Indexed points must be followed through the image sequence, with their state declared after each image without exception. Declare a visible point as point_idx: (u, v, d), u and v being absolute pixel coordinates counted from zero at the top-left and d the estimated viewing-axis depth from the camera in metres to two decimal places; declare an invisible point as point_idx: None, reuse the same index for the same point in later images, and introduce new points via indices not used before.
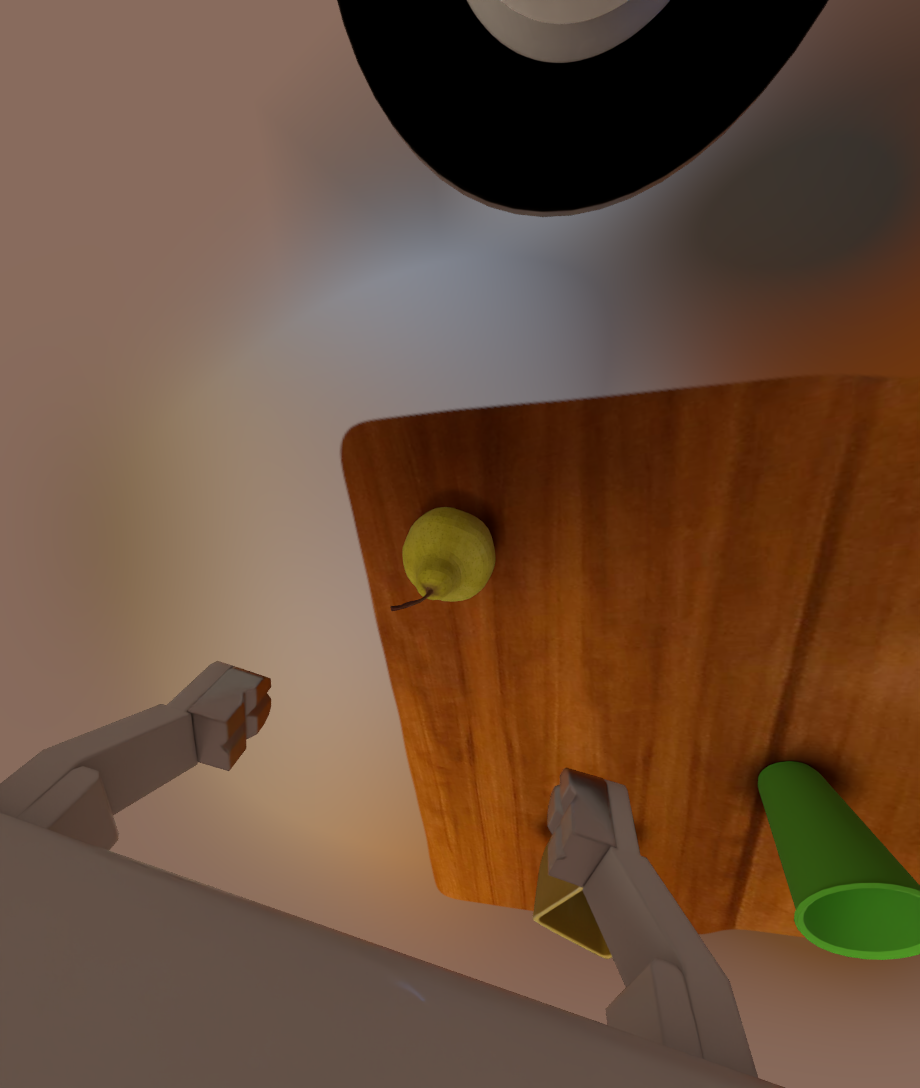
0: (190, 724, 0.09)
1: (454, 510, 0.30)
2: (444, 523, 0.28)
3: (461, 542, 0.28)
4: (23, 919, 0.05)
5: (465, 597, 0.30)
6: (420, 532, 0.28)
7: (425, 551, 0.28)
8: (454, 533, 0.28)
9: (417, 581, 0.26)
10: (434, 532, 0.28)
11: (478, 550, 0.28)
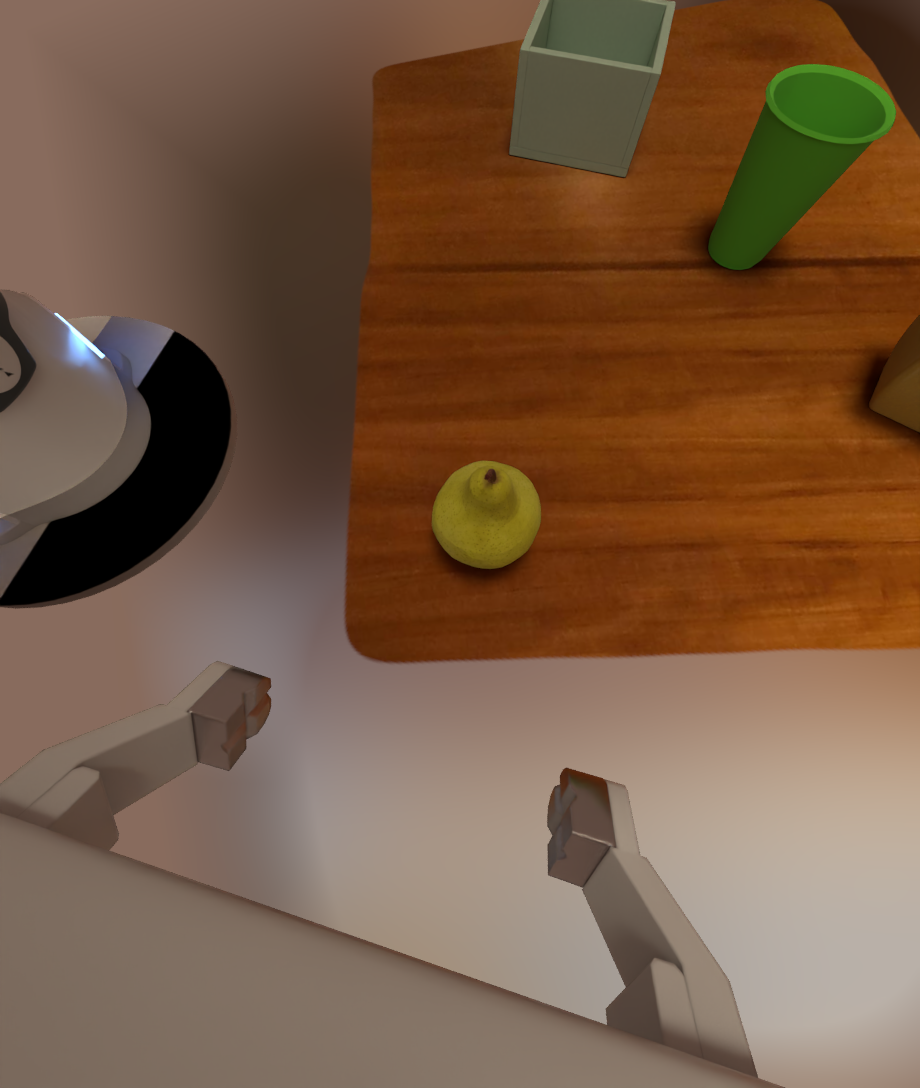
0: (190, 724, 0.09)
1: None
2: (437, 502, 0.25)
3: (455, 479, 0.25)
4: (23, 919, 0.05)
5: (527, 481, 0.25)
6: (445, 525, 0.25)
7: (460, 508, 0.24)
8: (446, 488, 0.25)
9: (485, 498, 0.22)
10: (444, 507, 0.25)
11: (467, 466, 0.26)
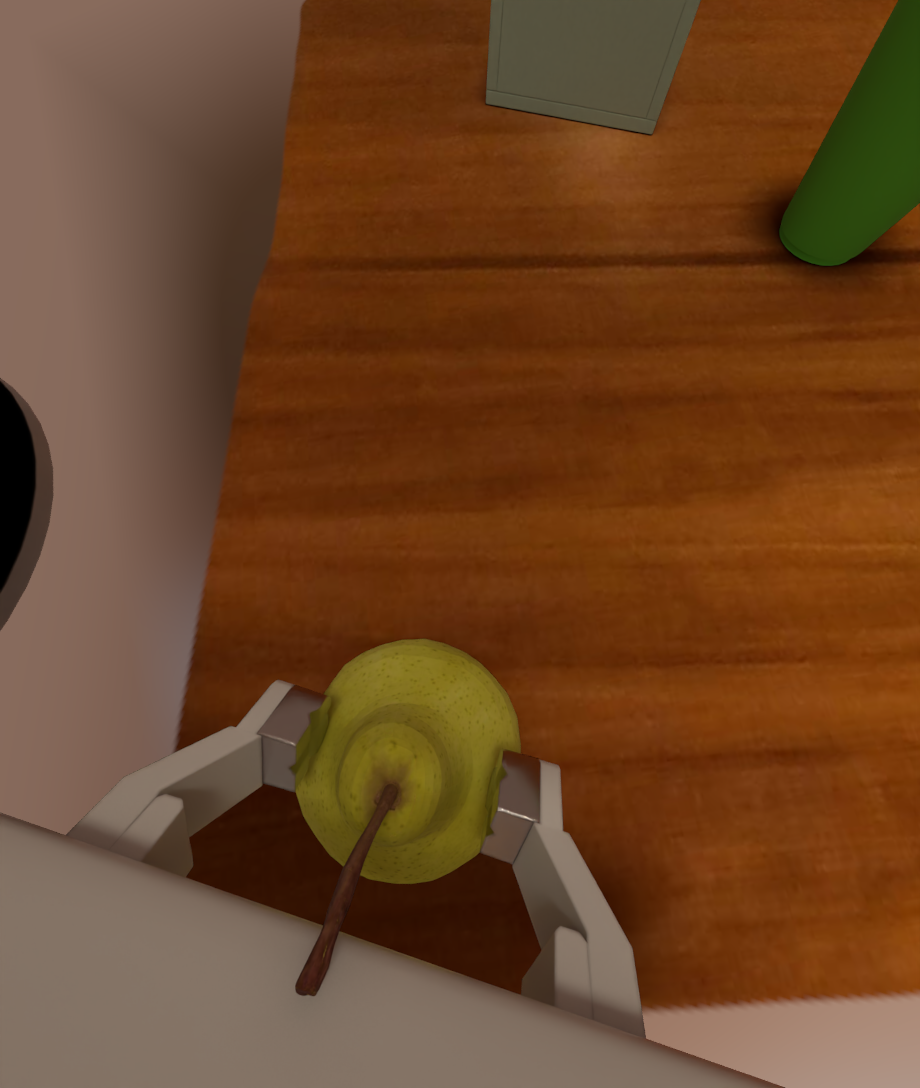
0: (260, 746, 0.09)
1: None
2: None
3: (338, 702, 0.12)
4: (23, 919, 0.05)
5: (491, 704, 0.12)
6: (309, 815, 0.11)
7: (333, 802, 0.10)
8: None
9: None
10: (308, 773, 0.11)
11: (369, 664, 0.12)
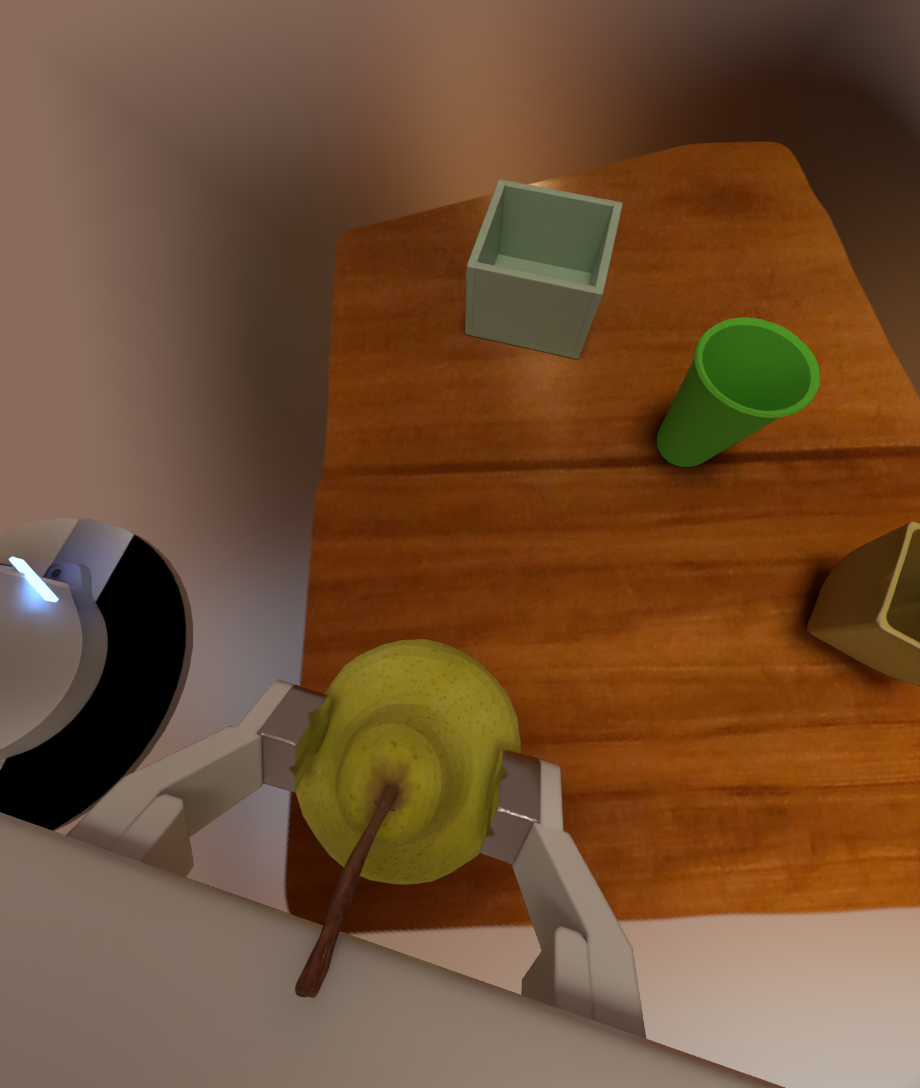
0: (260, 746, 0.09)
1: None
2: None
3: (338, 702, 0.12)
4: (23, 919, 0.05)
5: (491, 704, 0.12)
6: (310, 816, 0.11)
7: (333, 803, 0.10)
8: None
9: None
10: (308, 773, 0.11)
11: (369, 664, 0.12)
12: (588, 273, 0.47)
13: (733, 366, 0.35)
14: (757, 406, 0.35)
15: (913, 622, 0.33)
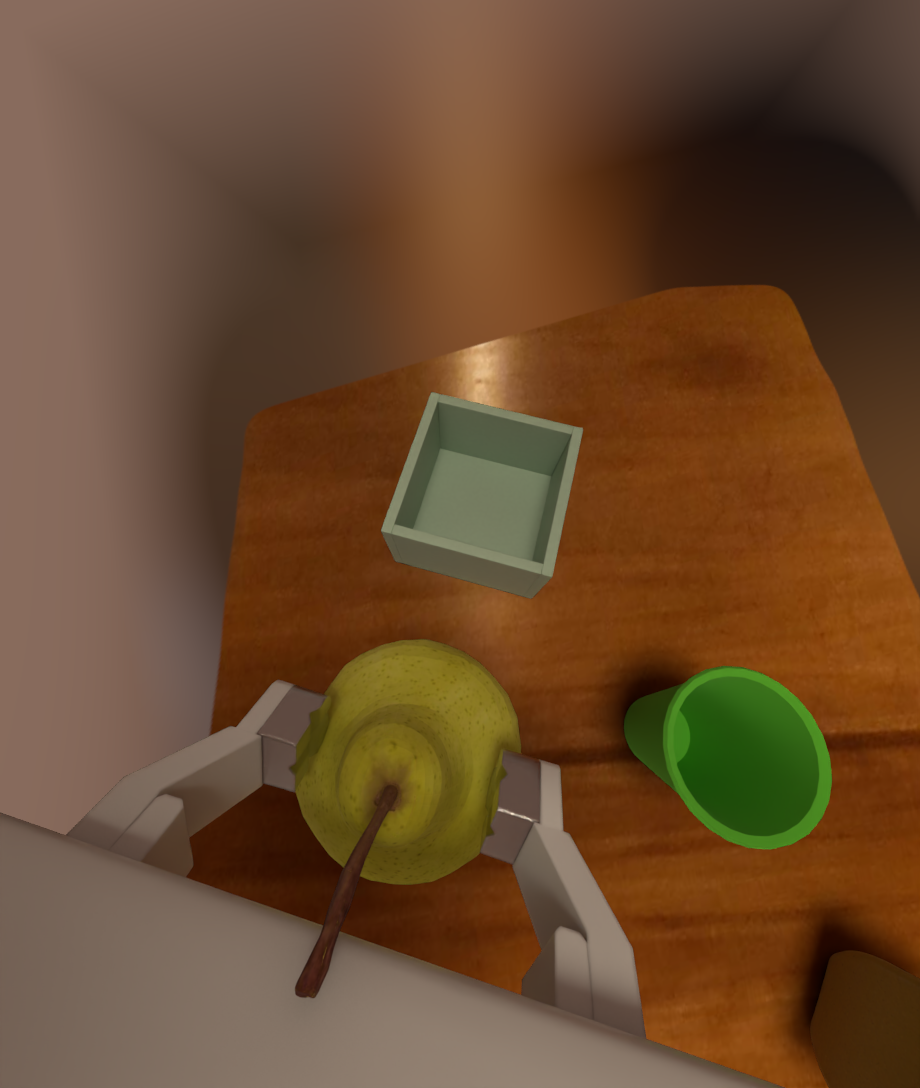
0: (260, 746, 0.09)
1: None
2: None
3: (338, 702, 0.12)
4: (23, 919, 0.05)
5: (491, 705, 0.12)
6: (309, 816, 0.11)
7: (333, 803, 0.10)
8: None
9: None
10: (308, 774, 0.11)
11: (369, 664, 0.12)
12: (547, 476, 0.39)
13: (718, 689, 0.27)
14: (747, 742, 0.27)
15: None
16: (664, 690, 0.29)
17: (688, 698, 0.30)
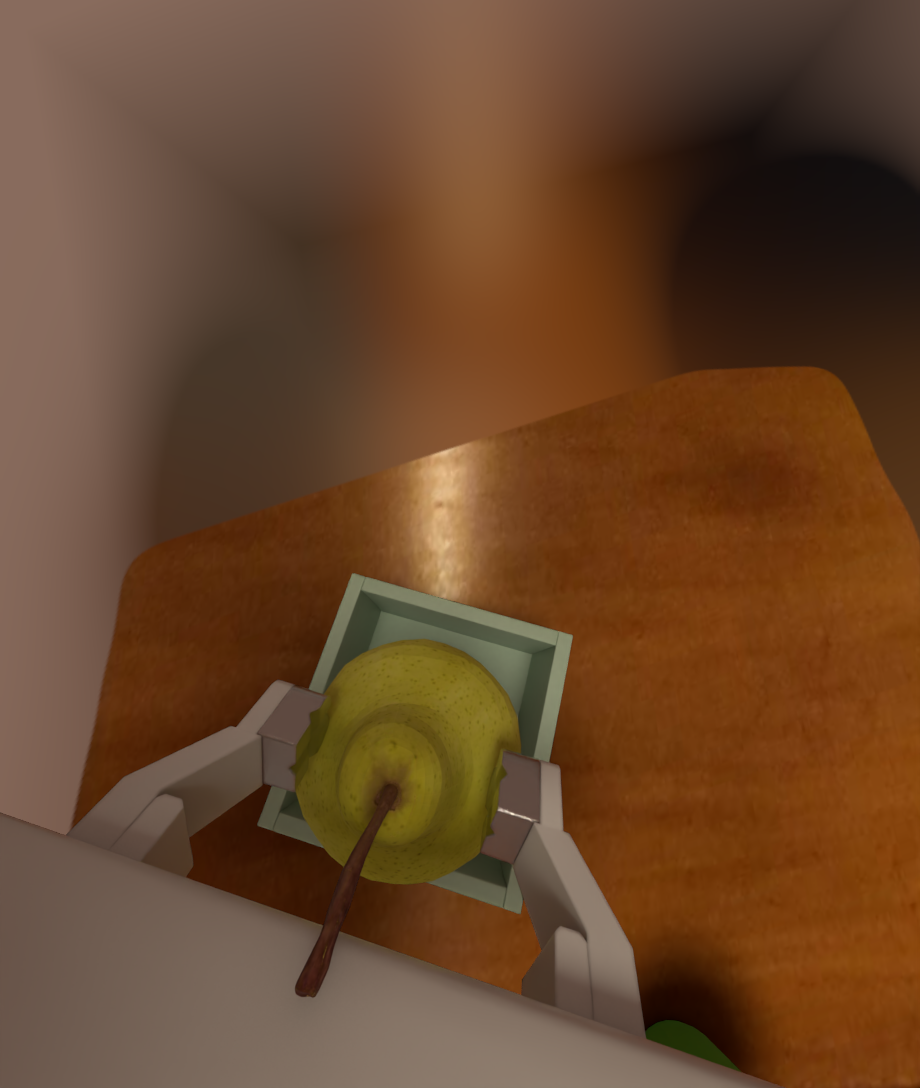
0: (260, 746, 0.09)
1: None
2: None
3: (338, 702, 0.12)
4: (23, 919, 0.05)
5: (491, 704, 0.12)
6: (309, 816, 0.11)
7: (333, 803, 0.10)
8: None
9: None
10: (308, 773, 0.11)
11: (369, 664, 0.12)
12: (526, 654, 0.29)
13: None
14: None
15: None
16: None
17: None
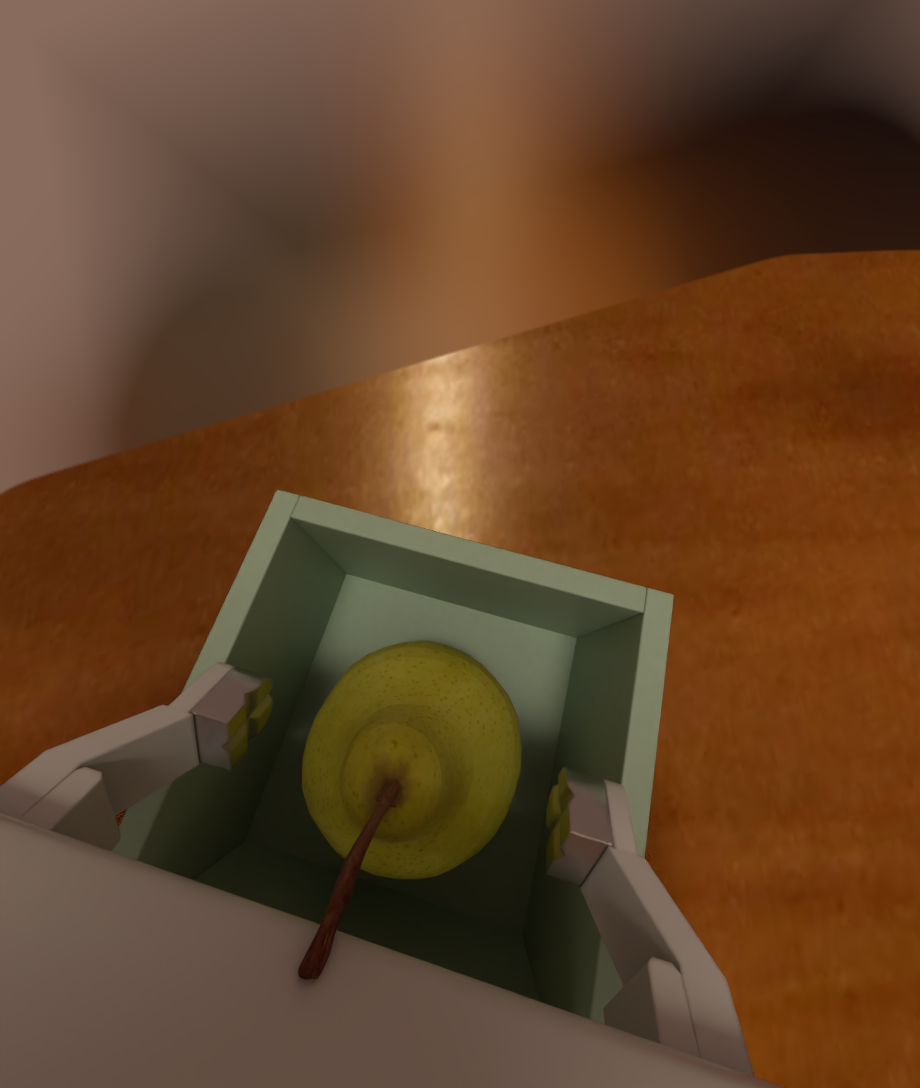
0: (192, 725, 0.09)
1: None
2: (308, 745, 0.12)
3: (342, 702, 0.12)
4: (23, 919, 0.05)
5: (492, 705, 0.12)
6: (315, 812, 0.12)
7: (338, 800, 0.11)
8: (324, 721, 0.12)
9: None
10: (313, 771, 0.12)
11: (373, 665, 0.13)
12: (568, 638, 0.19)
13: None
14: None
15: None
16: None
17: None
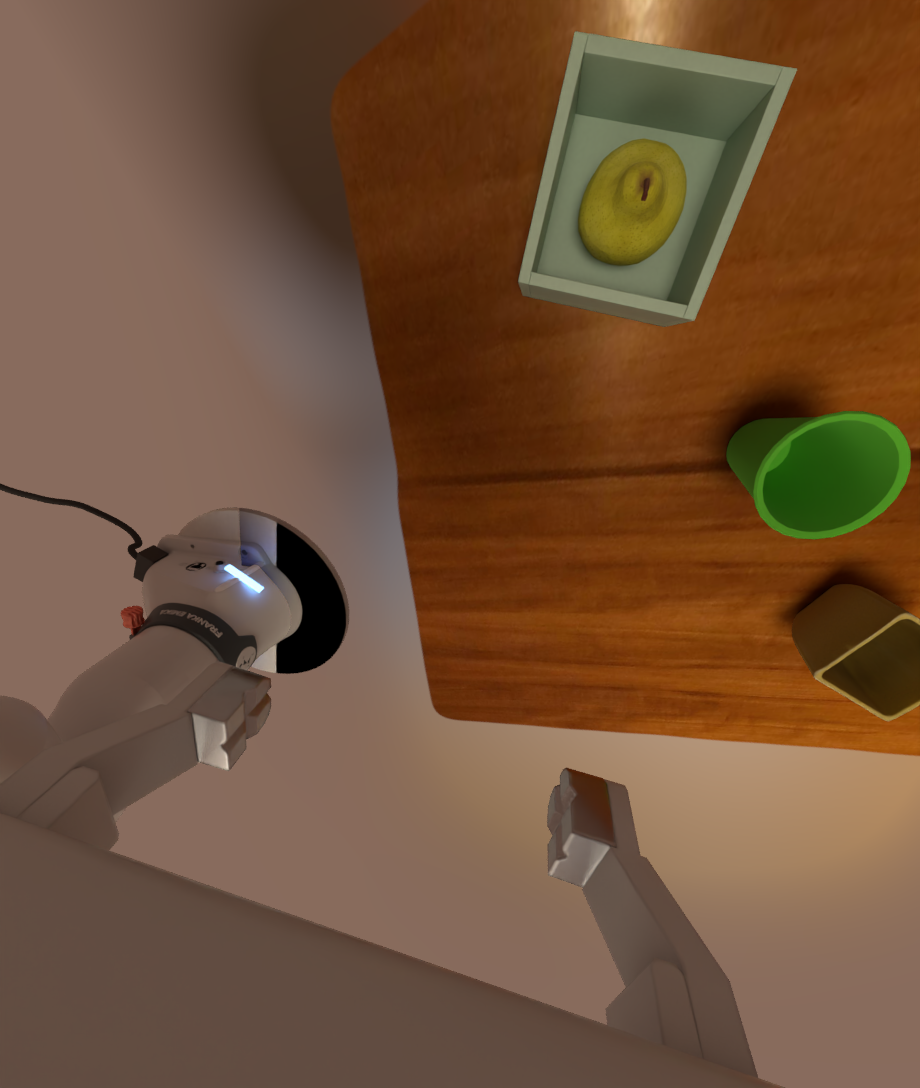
0: (190, 724, 0.09)
1: None
2: (586, 202, 0.28)
3: (606, 173, 0.27)
4: (23, 919, 0.05)
5: (678, 165, 0.26)
6: (593, 230, 0.29)
7: (609, 213, 0.27)
8: (596, 186, 0.28)
9: (635, 205, 0.25)
10: (593, 210, 0.28)
11: (619, 152, 0.27)
12: (720, 142, 0.30)
13: (831, 423, 0.30)
14: (839, 463, 0.32)
15: (888, 629, 0.40)
16: (777, 422, 0.32)
17: None
